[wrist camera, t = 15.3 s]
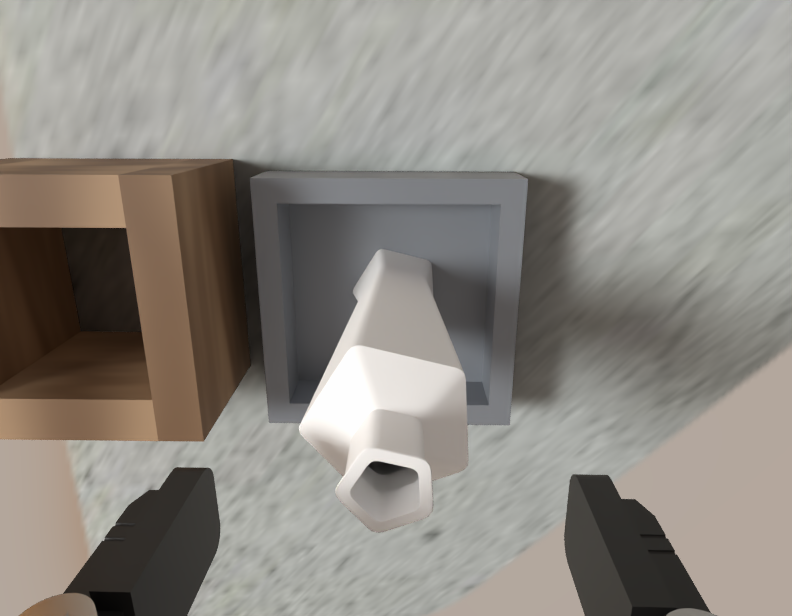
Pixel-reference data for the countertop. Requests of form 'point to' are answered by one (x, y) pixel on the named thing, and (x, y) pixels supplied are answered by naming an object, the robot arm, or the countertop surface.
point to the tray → (354, 249)
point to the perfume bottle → (391, 398)
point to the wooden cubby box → (155, 290)
